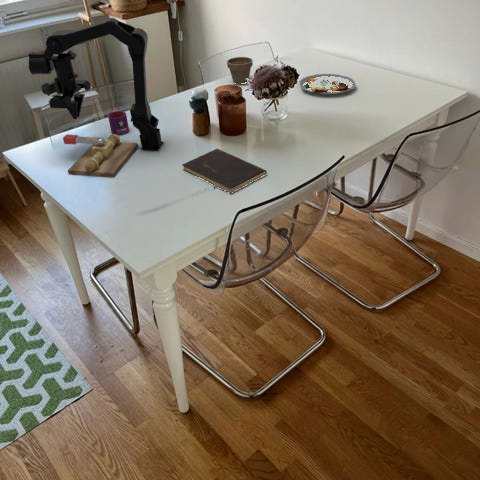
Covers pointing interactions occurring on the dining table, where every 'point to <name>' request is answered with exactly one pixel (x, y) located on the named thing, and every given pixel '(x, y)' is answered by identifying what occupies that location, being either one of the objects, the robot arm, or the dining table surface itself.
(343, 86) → the food plate
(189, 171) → the hardcover book
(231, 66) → the flower pot
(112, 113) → the mug
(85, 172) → the valve board
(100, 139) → the lever
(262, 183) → the dining table surface
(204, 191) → the butter knife
